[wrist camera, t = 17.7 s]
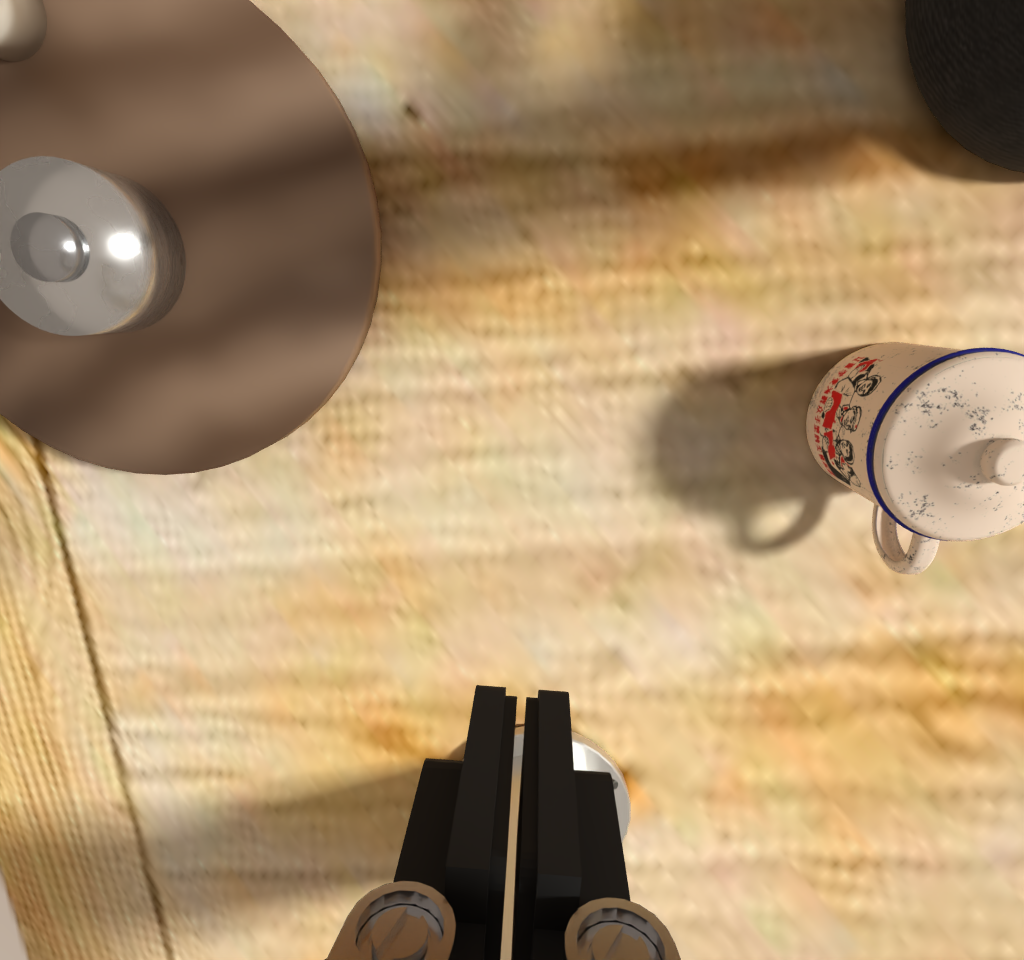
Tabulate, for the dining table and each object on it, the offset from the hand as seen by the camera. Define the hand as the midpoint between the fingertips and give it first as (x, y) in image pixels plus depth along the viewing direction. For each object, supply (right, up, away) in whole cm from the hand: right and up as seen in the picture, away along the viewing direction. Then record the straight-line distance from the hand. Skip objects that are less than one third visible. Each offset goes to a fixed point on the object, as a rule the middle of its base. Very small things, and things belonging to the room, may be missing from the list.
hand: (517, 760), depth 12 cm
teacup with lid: (+21, +7, +28) cm, 35 cm away
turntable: (-20, +18, +25) cm, 37 cm away
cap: (-21, +17, +23) cm, 36 cm away
